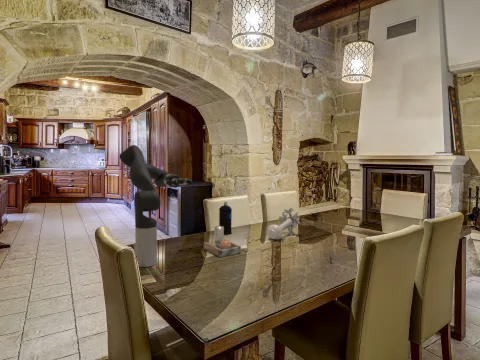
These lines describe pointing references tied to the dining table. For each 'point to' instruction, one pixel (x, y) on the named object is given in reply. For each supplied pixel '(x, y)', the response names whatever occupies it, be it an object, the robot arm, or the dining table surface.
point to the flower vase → (284, 225)
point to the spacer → (225, 244)
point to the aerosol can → (225, 218)
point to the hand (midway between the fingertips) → (184, 182)
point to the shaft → (218, 236)
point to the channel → (225, 252)
